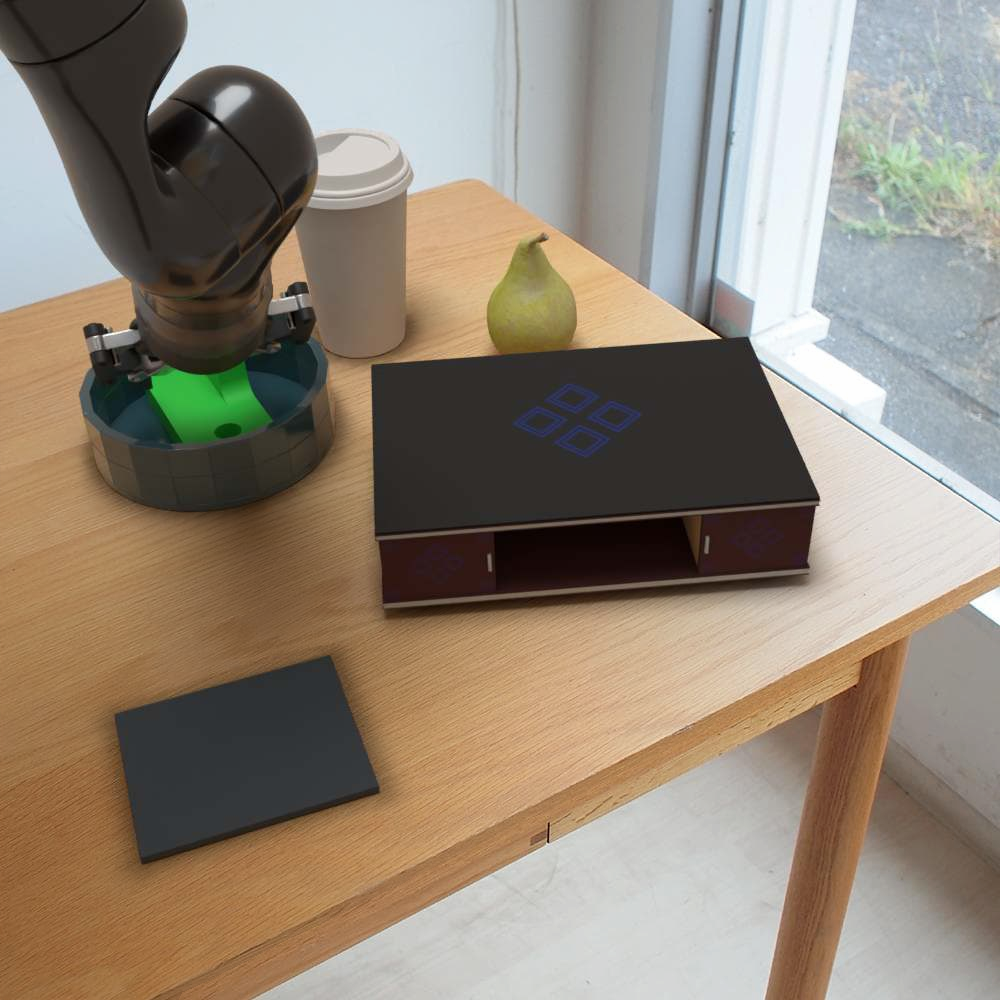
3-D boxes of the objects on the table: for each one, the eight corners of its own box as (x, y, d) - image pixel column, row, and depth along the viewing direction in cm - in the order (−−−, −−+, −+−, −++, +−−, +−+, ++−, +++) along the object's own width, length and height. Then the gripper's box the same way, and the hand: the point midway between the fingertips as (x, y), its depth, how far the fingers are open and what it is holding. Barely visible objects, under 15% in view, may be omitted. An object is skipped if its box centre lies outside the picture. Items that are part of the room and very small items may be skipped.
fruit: (561, 325, 102) (561, 180, 94) (593, 376, 96) (595, 226, 89) (477, 339, 101) (470, 194, 93) (504, 392, 95) (499, 241, 87)
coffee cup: (368, 291, 107) (350, 112, 98) (450, 332, 102) (439, 147, 92) (275, 338, 102) (246, 154, 92) (357, 384, 96) (335, 194, 87)
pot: (112, 536, 84) (95, 474, 80) (84, 401, 96) (67, 342, 93) (362, 476, 88) (355, 414, 85) (304, 353, 100) (296, 295, 97)
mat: (142, 864, 64) (140, 858, 64) (115, 719, 71) (113, 713, 71) (380, 792, 67) (379, 785, 67) (331, 660, 74) (330, 654, 74)
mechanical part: (147, 400, 94) (124, 303, 89) (227, 376, 97) (208, 279, 92) (202, 489, 86) (180, 387, 81) (288, 461, 88) (272, 359, 83)
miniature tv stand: (807, 585, 78) (821, 497, 74) (384, 621, 77) (374, 533, 73) (740, 418, 92) (748, 335, 87) (379, 445, 90) (370, 363, 86)
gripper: (310, 205, 76) (291, 290, 92) (54, 252, 72) (80, 332, 88) (343, 329, 75) (318, 393, 91) (87, 383, 72) (107, 440, 88)
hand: (201, 363), depth 90 cm, fingers open, 7 cm apart
